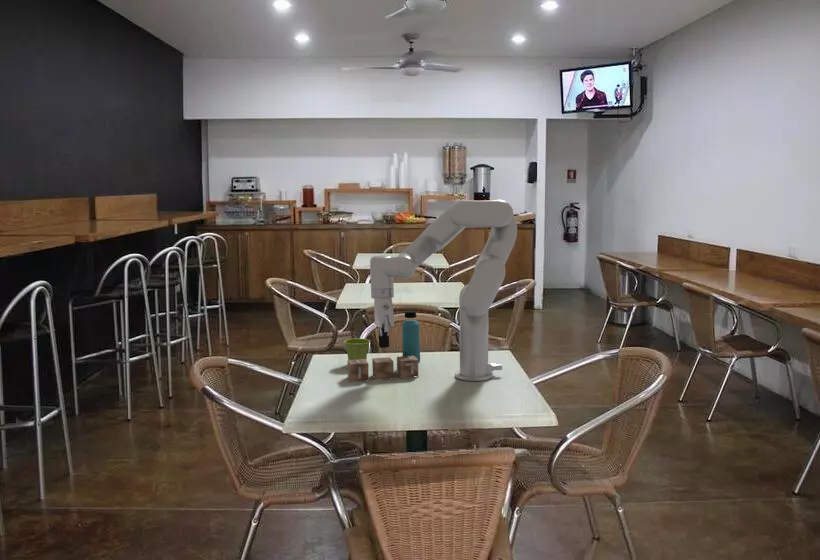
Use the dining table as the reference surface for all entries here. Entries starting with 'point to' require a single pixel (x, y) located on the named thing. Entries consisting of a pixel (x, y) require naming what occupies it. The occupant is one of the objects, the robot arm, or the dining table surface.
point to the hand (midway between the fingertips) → (384, 346)
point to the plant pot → (357, 348)
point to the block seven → (407, 366)
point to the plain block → (383, 368)
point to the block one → (358, 370)
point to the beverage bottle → (411, 336)
